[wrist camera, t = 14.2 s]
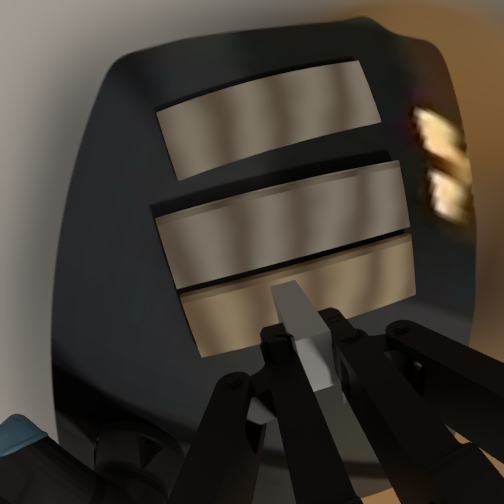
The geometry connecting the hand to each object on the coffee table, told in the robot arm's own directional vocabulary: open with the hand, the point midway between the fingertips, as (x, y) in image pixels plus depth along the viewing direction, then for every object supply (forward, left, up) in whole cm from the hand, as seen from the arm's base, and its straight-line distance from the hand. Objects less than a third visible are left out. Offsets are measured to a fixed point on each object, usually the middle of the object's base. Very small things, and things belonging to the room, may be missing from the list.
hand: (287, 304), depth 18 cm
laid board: (+4, -7, -17) cm, 18 cm away
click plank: (+4, +2, -17) cm, 17 cm away
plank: (+5, +14, -17) cm, 23 cm away
